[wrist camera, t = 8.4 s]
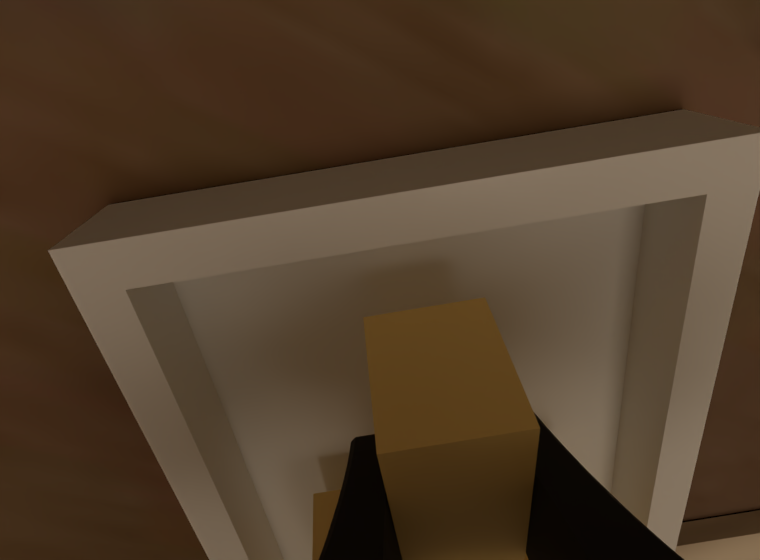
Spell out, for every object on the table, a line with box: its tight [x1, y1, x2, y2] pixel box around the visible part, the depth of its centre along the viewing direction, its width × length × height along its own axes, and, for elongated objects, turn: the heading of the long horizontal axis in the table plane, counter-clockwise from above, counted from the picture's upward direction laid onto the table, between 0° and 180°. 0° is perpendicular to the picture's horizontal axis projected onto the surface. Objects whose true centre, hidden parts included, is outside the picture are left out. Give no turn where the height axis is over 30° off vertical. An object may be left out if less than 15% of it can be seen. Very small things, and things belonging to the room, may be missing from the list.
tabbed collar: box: [312, 297, 540, 560], centre depth 12 cm, size 13×7×3 cm, turn 8°
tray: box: [48, 109, 760, 560], centre depth 14 cm, size 19×13×2 cm
